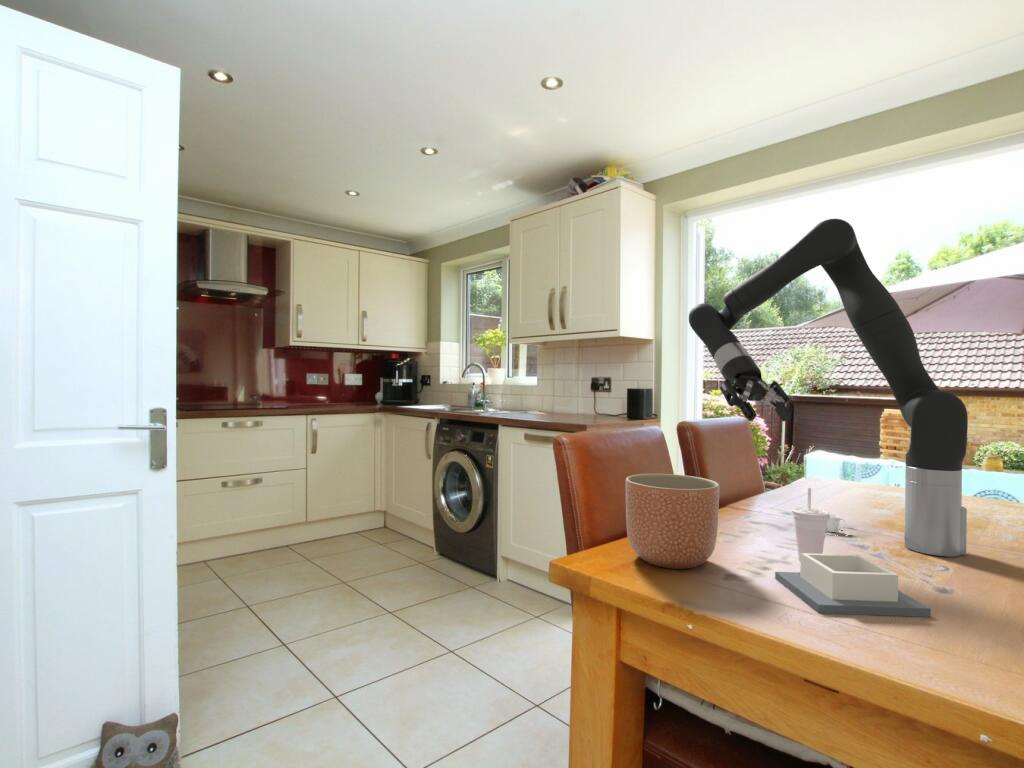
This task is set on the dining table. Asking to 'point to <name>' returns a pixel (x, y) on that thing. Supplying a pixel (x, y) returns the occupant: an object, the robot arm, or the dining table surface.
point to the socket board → (849, 586)
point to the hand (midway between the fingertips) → (770, 418)
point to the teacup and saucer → (834, 524)
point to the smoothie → (810, 528)
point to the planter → (672, 518)
